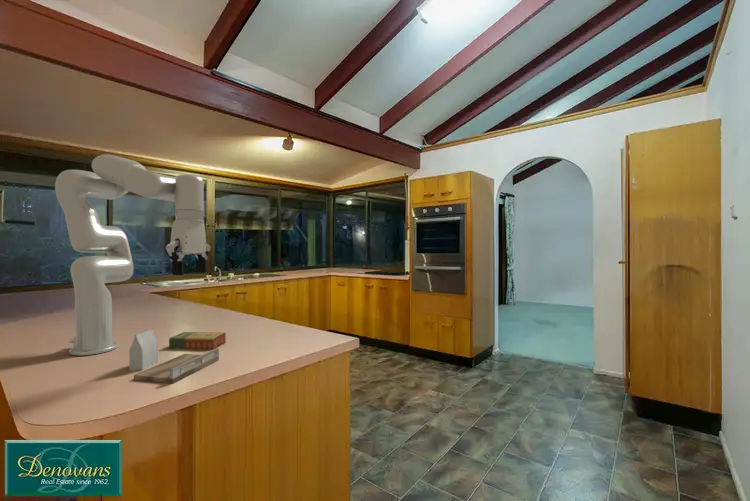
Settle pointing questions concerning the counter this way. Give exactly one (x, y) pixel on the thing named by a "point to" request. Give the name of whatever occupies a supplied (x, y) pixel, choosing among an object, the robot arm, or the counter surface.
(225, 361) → the counter surface
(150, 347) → the tea bag
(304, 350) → the counter surface
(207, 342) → the carton
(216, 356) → the shelf board
